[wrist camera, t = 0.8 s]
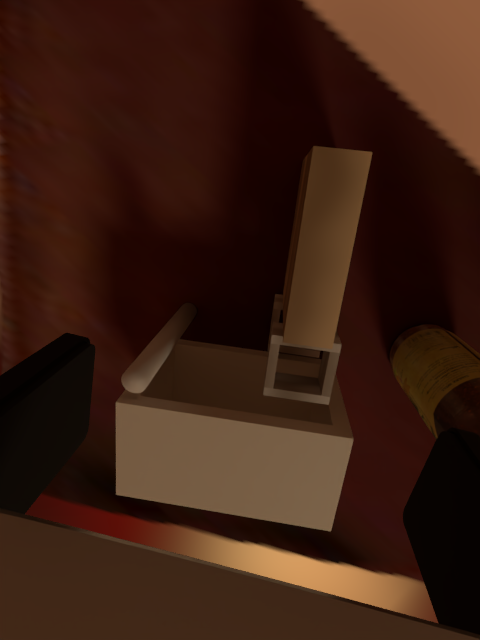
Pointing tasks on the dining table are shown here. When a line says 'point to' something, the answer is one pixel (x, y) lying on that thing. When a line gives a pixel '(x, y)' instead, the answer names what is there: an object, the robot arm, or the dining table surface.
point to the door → (317, 270)
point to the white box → (228, 433)
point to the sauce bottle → (439, 377)
